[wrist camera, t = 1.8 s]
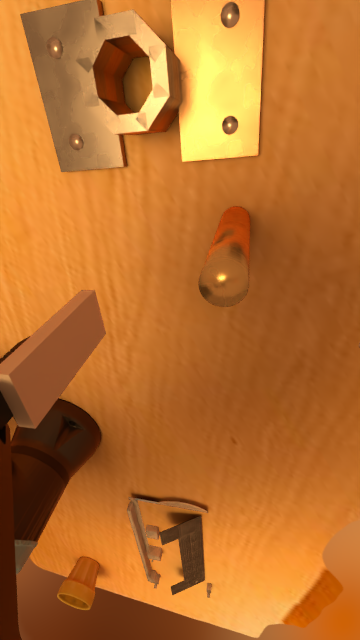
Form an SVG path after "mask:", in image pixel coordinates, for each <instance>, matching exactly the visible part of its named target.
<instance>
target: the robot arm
mask: <svg viewBox="0 0 360 640" xmlns="http://www.w3.org/2000/svg"><path fill="white" fill-rule="evenodd" d="M105 334H106V332H105V328H104V324H103V320H102V316H101V313H100V309H99V305H98V301H97V297H96V293H95V290H81V291H80V292H79V293H78V294H77V295H76V296H75V297H73V298H72V299H71V300H70V301H69V302H68V303H67V304H66V305H65V306H64V307H62V308H61V309H60V310H59V311H58V312H57V313H56V314H55V315H54V316H52V317H51V318H50V319H49V320H48V321H47V322H46V323H45V324H44V325H43V326H41V327H40V328H39V329H38V330H37V331H36V332H35V333H34V334H33V335H31V336H29V337H28V338H26V339H24V340H22V341H21V342H19V343H18V344H16V345H15V346H14V347H13V348H12V349H11V350H10V352H7V353H6V354H5V355H4V357H3V358H1V359H0V640H22V639H21V637H20V633H19V627H18V610H17V585H16V575H17V574H18V573H19V572H20V570H21V569H22V567H23V565H24V564H25V562H26V561H27V559H28V557H29V556H30V554H31V552H32V551H33V549H34V548H35V547H36V546H37V544H38V540H39V538H40V536H41V534H42V532H43V530H44V528H45V526H46V524H47V522H48V521H49V519H50V517H51V515H52V513H53V511H54V509H55V507H56V505H57V503H58V501H59V499H60V497H61V496H62V494H63V492H64V490H65V488H66V486H67V484H68V482H69V480H70V479H71V477H72V476H73V475H74V474H75V473H76V472H77V471H78V470H79V469H80V468H81V467H82V466H83V465H84V464H85V462H86V461H87V460H88V459H89V458H90V457H92V455H93V454H94V453H95V451H96V449H97V447H98V445H99V443H100V440H101V434H100V430H99V428H98V426H97V424H96V423H95V422H94V420H93V419H92V418H91V417H90V416H89V415H88V414H87V413H85V412H84V411H83V410H81V409H80V408H78V407H77V406H75V405H73V404H71V403H68V402H66V401H63V400H59V399H58V398H59V396H60V395H61V394H62V392H63V391H64V390H65V388H66V387H67V386H68V384H69V383H70V382H71V380H72V379H73V377H74V376H75V375H76V373H77V372H78V371H79V369H80V368H81V367H82V365H83V364H84V363H85V361H86V360H87V359H88V357H89V356H90V355H91V353H92V352H93V350H94V349H95V348H96V346H97V345H98V344H99V342H100V341H101V340H102V338H103V337H104V336H105ZM359 348H360V343H359ZM12 417H14V419H15V421H16V422H17V424H18V425H17V428H16V430H15V433H14V435H13V438H12V440H10V428H9V426H8V424H7V422H8V421H9V420H10V419H11V418H12Z"/></svg>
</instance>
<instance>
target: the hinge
mask: <svg viewBox="0 0 360 640" xmlns="http://www.w3.org/2000/svg"><path fill="white" fill-rule="evenodd" d="M264 4H265V0H171V11H172V24H173V38H174V52H175V54H174V53H173V52H172V51H171V49H170V48H169V47H168V46H167V45H166V44H165V43H164V42H163V41H162V40H161V39H160V38H159V37H158V36H157V34H156V33H155V32H154V31H153V30H152V29H151V28H150V27H149V26H148V25H147V24H146V22H145V21H144V20H143V19H142V18H141V17H140V16H139V15H138V14H137V13H136V12H135V11H134V10H133V9H132V10H129V11H124V12H120V13H115V14H110V15H105V16H104V15H103V9H102V2H101V1H100V0H82V1H78V2H73V3H69V4H64V5H60V6H55V7H51V8H46V9H42V10H37V11H33V12H28V13H24V14H20V15H21V19H22V23H23V27H24V30H25V34H26V38H27V42H28V46H29V50H30V53H31V57H32V61H33V65H34V69H35V73H36V76H37V80H38V84H39V88H40V92H41V96H42V99H43V103H44V107H45V111H46V115H47V119H48V123H49V126H50V130H51V134H52V138H53V142H54V146H55V149H56V153H57V157H58V161H59V165H60V169H61V172H68V171H80V170H91V169H103V168H115V167H125V166H127V162H126V155H125V149H124V142H123V136H122V135H138V134H147V133H157V132H166V130H167V129H168V127H169V126H170V124H171V123H172V121H173V120H174V118H175V117H176V115H177V114H178V112H179V122H180V136H181V150H182V162H185V161H196V160H208V159H220V158H231V157H243V156H255V155H258V143H259V120H260V97H261V73H262V50H263V27H264ZM145 56H149V57H150V67H151V76H152V86H153V90H152V92H151V93H150V95H149V97H148V98H147V100H146V102H145V103H144V105H143V107H142V108H141V110H140V112H139V113H134V112H133V111H132V110H131V109H130V108H129V107H128V106H127V105H126V103H125V96H124V90H123V83H122V78H123V77H124V75H125V73H126V71H127V69H128V67H129V65H130V63H131V61H132V60H133V58H139V57H145Z"/></svg>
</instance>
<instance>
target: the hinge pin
mask: <svg viewBox="0 0 360 640" xmlns="http://www.w3.org/2000/svg"><path fill="white" fill-rule="evenodd" d="M249 251H250V216H249V214H248V212H247V211H246V210H245V209H244V208H242V207H238V206H235V207H231V208H229V209H227V210H226V211H225V212H224V214H223V215H222V218H221V221H220V223H219V226H218V229H217V231H216V234H215V237H214V240H213V242H212V245H211V248H210V250H209V253H208V256H207V259H206V261H205V264H204V267H203V269H202V272H201V275H200V278H199V289H200V292H201V294H202V296H203V297H204V298H205V299H206V300H207V301H208V302H209V303H211V304H213V305H216V306H220V307H229V306H233V305H235V304H237V303H239V302H240V301H241V300H242V299H243V298H244V297H245V296H246V294H247V292H248V288H249Z"/></svg>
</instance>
